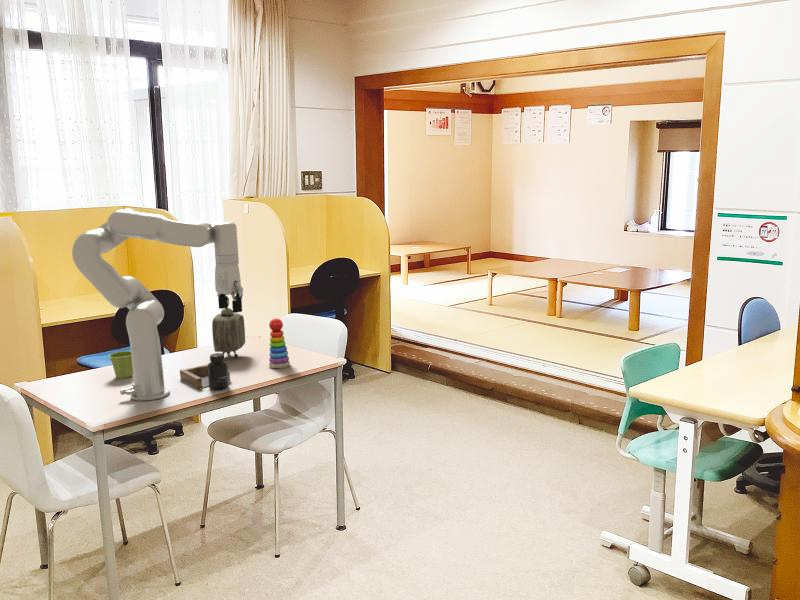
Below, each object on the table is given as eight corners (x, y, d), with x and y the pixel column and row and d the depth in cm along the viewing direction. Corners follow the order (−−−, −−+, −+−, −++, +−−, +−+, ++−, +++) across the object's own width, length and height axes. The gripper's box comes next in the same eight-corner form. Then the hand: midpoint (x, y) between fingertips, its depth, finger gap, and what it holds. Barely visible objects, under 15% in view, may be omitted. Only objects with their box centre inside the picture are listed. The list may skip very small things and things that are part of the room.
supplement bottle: (224, 391, 247) (221, 357, 245) (205, 390, 248) (202, 357, 246) (232, 385, 254) (230, 352, 251) (214, 384, 255) (211, 351, 253)
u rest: (198, 389, 250) (197, 379, 250) (180, 379, 262) (179, 370, 262) (230, 381, 258) (229, 372, 257) (211, 372, 270) (211, 363, 269)
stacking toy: (291, 363, 280) (288, 316, 276) (288, 368, 272) (285, 320, 268) (270, 363, 280) (267, 316, 276) (267, 369, 272) (264, 321, 268)
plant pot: (107, 380, 264) (105, 358, 262) (115, 373, 273) (112, 351, 271) (133, 379, 265) (131, 356, 263) (140, 372, 274) (138, 350, 272)
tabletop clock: (225, 353, 297) (221, 294, 293) (247, 353, 297) (242, 293, 292) (214, 363, 283) (209, 300, 279) (237, 362, 283) (232, 300, 278)
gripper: (204, 258, 242) (208, 308, 246) (229, 263, 229) (232, 315, 233) (225, 256, 247) (228, 305, 250) (250, 260, 234) (253, 312, 238)
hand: (230, 310), depth 242 cm, fingers open, 9 cm apart
